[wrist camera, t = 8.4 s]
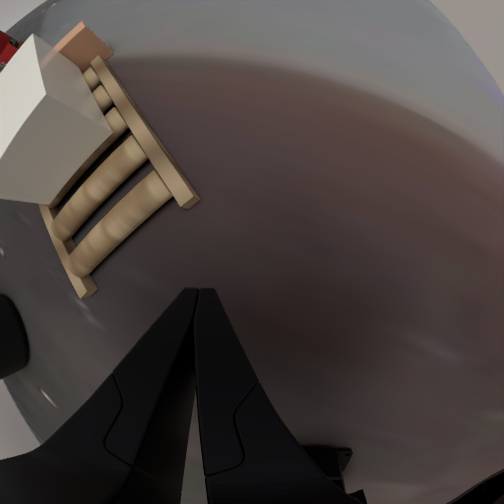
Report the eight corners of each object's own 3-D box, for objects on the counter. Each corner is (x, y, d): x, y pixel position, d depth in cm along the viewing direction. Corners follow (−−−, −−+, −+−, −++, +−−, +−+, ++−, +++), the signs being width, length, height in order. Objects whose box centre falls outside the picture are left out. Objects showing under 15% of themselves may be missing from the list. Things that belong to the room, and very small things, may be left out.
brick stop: (113, 53, 21) (85, 26, 15) (24, 150, 23) (-9, 140, 17) (108, 47, 21) (81, 21, 15) (22, 141, 23) (-10, 130, 17)
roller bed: (200, 199, 20) (189, 194, 17) (91, 295, 22) (73, 300, 19) (105, 61, 21) (94, 51, 18) (30, 145, 22) (16, 140, 20)
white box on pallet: (113, 132, 18) (46, 93, 10) (49, 204, 19) (-19, 196, 11) (78, 66, 18) (32, 33, 11) (26, 127, 20) (-23, 108, 12)
